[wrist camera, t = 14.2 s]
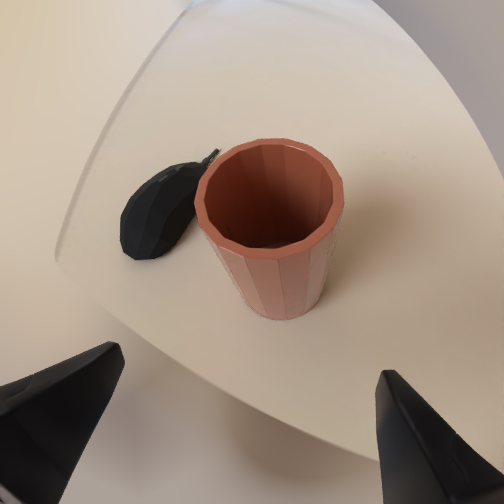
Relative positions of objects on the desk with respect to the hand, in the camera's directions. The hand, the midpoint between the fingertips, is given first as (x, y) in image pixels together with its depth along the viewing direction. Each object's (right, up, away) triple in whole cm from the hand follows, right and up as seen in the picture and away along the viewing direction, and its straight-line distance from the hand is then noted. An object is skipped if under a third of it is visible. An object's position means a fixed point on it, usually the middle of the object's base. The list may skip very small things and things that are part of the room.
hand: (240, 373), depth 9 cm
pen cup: (+3, +2, +15) cm, 16 cm away
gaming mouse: (-7, +9, +21) cm, 24 cm away
